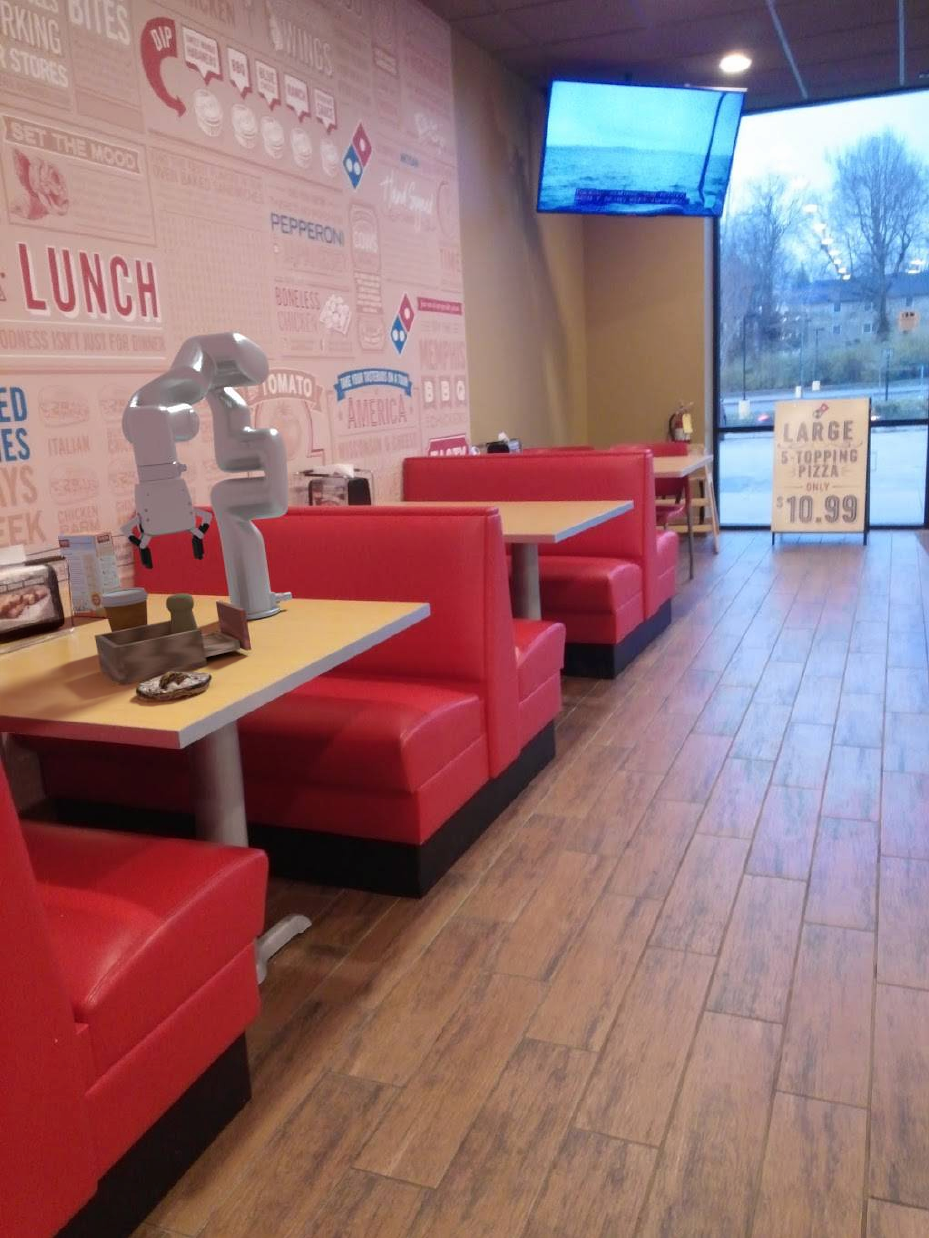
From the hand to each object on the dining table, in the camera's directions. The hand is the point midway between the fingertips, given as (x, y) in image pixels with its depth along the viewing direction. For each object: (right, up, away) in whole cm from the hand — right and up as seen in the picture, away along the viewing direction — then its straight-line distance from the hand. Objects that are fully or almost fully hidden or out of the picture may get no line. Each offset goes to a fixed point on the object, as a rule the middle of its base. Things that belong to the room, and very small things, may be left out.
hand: (174, 563), depth 187 cm
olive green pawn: (+2, -17, +4) cm, 17 cm away
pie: (+5, -24, -17) cm, 30 cm away
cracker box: (-37, -10, +60) cm, 71 cm away
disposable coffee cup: (-14, -17, +19) cm, 29 cm away
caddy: (-4, -20, 0) cm, 20 cm away
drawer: (+4, -17, +5) cm, 18 cm away
